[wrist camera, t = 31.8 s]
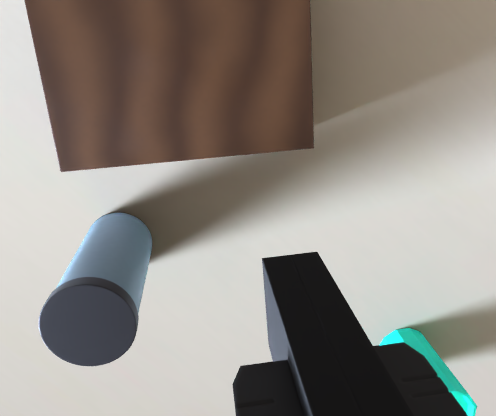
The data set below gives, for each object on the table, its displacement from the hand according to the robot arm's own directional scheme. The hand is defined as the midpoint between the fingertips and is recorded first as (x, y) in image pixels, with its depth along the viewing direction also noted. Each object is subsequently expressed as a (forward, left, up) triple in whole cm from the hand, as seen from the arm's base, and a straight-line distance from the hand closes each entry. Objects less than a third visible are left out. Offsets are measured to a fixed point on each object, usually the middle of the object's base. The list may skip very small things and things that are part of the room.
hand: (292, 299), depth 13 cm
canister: (-7, -15, -34) cm, 37 cm away
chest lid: (-5, +5, -27) cm, 28 cm away
